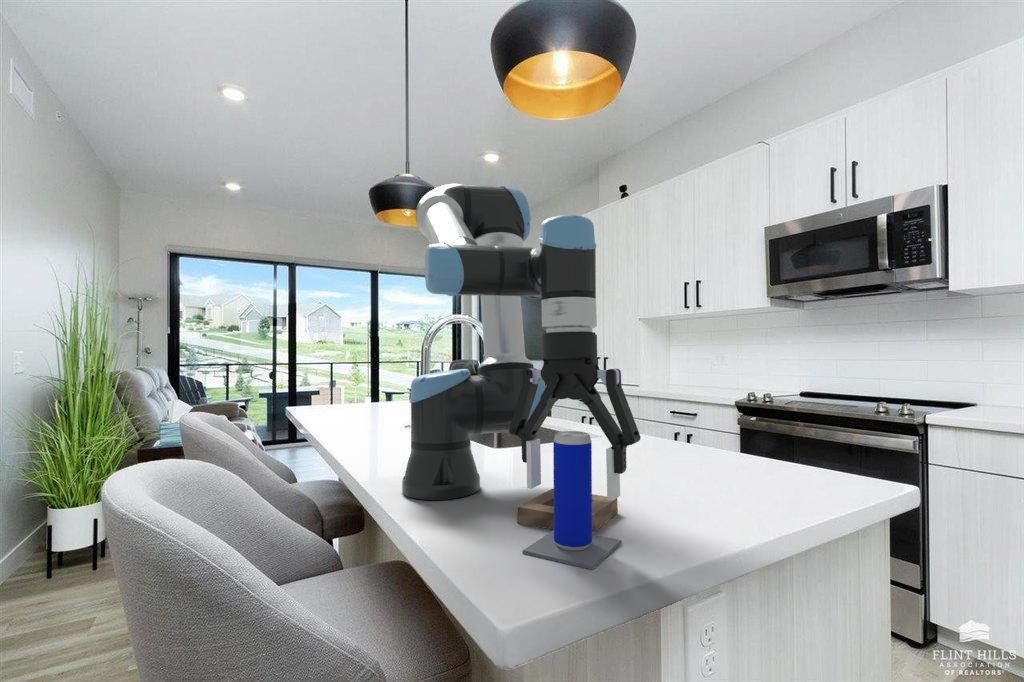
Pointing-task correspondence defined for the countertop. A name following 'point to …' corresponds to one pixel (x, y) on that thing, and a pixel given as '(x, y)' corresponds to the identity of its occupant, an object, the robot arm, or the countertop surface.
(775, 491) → the countertop surface
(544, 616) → the countertop surface
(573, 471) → the beverage can
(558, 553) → the grey rubber mat
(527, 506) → the walnut collar block
